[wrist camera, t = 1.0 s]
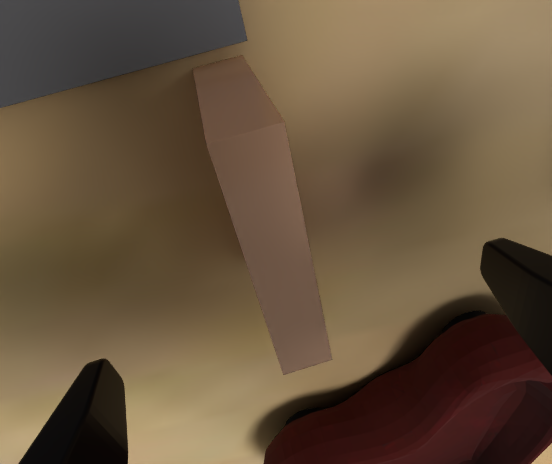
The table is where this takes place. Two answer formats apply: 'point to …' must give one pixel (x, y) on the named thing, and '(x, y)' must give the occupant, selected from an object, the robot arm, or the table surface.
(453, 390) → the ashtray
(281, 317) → the tile
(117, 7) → the mat
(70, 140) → the table surface
